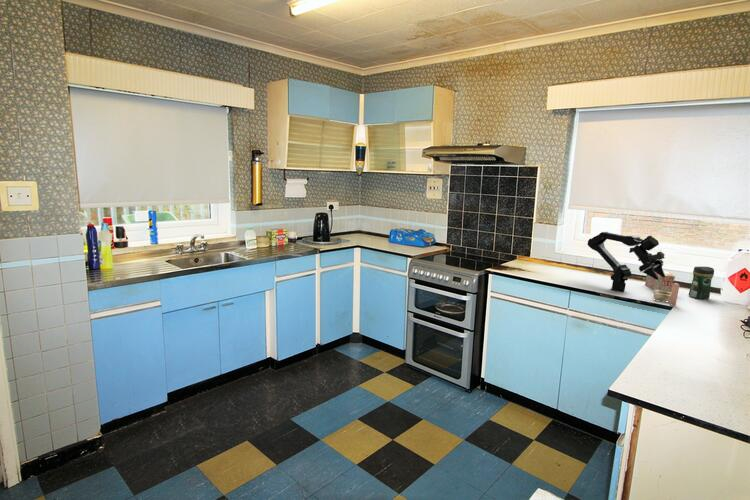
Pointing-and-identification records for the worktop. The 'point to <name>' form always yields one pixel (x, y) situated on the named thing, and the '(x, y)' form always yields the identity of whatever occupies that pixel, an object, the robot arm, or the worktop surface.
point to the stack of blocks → (661, 282)
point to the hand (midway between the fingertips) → (661, 278)
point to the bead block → (662, 295)
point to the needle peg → (674, 293)
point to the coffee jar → (701, 282)
